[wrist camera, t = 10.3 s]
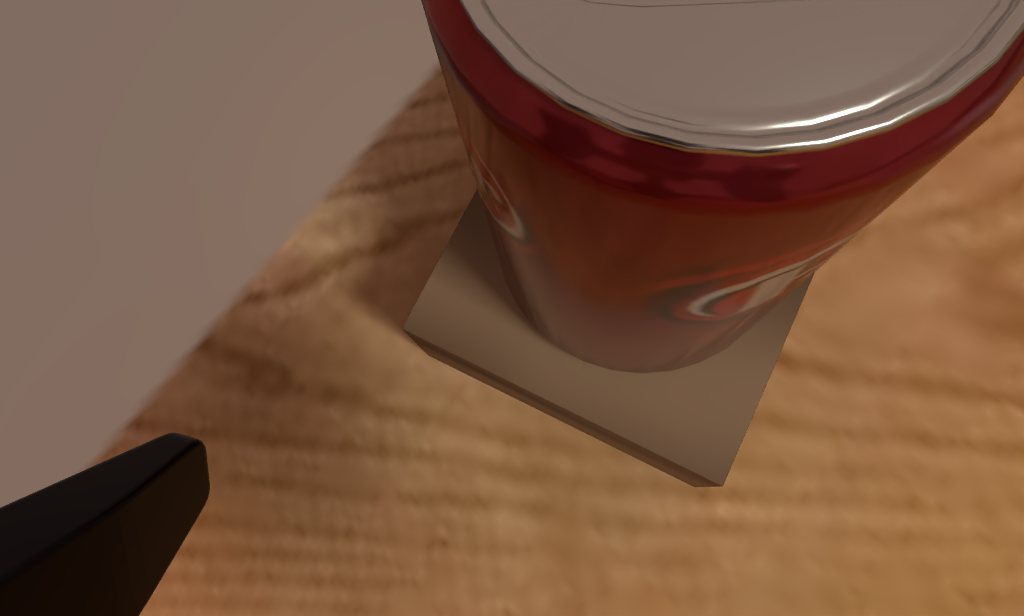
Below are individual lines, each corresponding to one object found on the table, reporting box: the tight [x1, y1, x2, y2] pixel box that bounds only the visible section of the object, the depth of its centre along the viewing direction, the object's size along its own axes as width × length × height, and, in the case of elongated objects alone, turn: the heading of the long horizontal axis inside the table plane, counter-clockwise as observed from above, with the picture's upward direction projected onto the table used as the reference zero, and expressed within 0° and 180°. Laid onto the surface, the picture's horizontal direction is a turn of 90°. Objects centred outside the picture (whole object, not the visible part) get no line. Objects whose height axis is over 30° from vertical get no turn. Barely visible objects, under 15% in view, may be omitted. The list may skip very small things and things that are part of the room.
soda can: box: [421, 0, 1024, 373], centre depth 13 cm, size 7×7×12 cm
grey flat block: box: [402, 189, 814, 487], centre depth 21 cm, size 10×9×4 cm
